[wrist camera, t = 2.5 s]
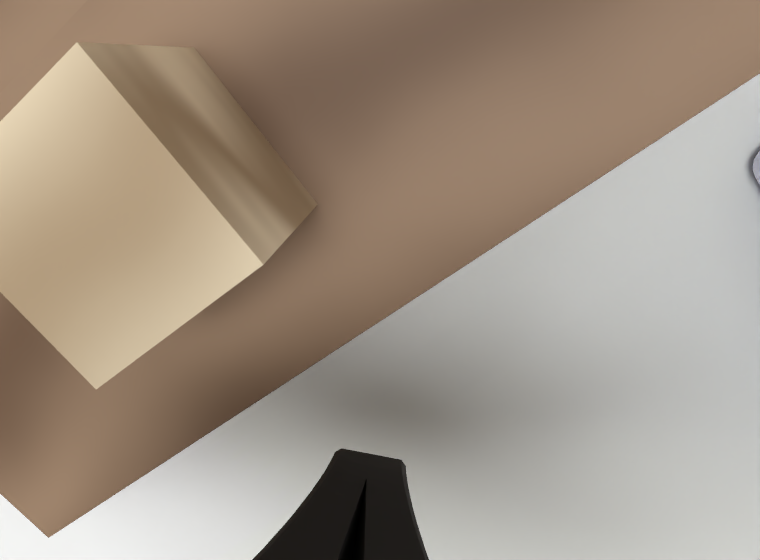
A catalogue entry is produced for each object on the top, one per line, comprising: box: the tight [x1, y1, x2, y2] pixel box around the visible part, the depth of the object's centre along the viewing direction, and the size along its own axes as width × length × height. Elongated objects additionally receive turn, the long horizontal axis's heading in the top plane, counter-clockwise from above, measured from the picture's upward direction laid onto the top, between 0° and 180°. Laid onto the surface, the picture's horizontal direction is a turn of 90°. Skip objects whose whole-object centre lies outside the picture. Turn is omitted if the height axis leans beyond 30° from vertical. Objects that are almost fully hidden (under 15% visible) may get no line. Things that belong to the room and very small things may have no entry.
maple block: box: [0, 42, 318, 389], centre depth 11 cm, size 4×4×4 cm
